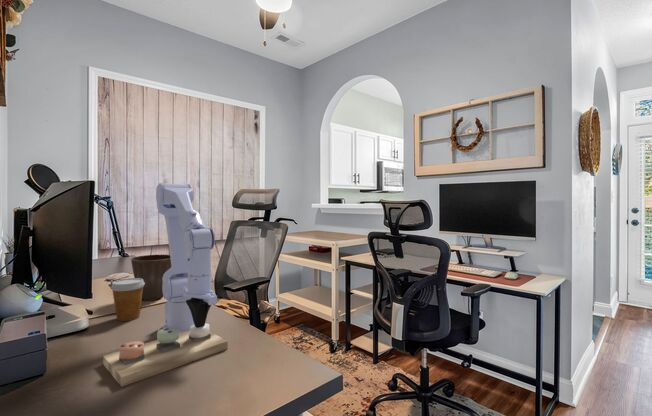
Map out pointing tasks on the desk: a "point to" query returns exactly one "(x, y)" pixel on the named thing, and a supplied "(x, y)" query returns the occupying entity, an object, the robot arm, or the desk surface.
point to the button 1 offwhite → (199, 331)
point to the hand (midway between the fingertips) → (199, 326)
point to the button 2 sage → (168, 335)
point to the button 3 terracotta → (131, 350)
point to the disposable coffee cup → (127, 298)
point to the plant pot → (151, 273)
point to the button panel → (162, 357)
